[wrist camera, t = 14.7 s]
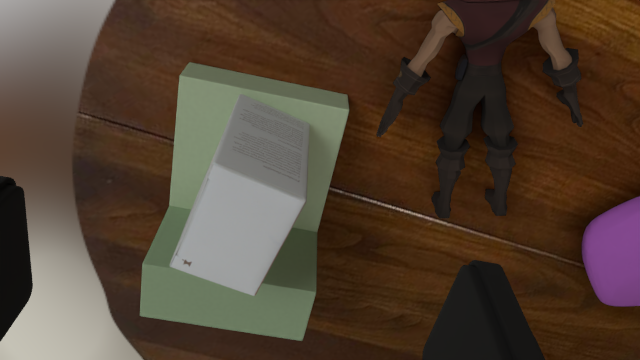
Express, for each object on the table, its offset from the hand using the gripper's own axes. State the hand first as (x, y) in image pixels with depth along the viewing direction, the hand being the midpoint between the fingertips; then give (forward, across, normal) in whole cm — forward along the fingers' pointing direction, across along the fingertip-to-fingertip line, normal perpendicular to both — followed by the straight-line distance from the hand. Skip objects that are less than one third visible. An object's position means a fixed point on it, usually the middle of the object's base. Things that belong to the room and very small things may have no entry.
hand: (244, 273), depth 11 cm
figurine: (+28, -14, +3) cm, 32 cm away
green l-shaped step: (+28, +1, +14) cm, 32 cm away
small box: (+26, +1, +11) cm, 28 cm away
